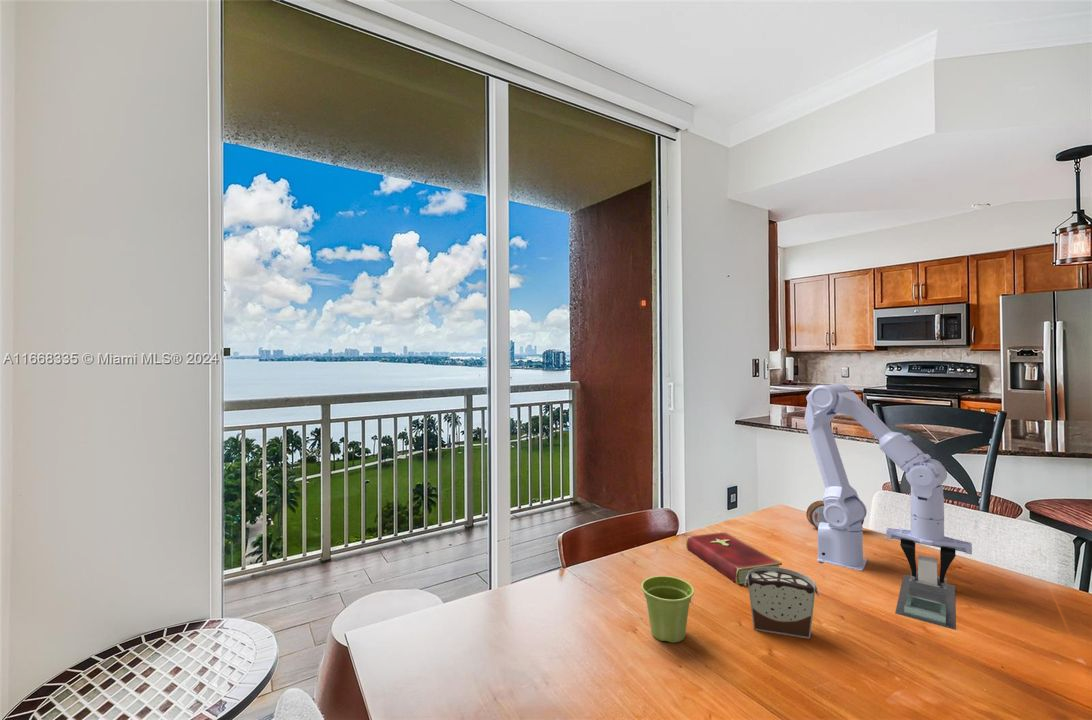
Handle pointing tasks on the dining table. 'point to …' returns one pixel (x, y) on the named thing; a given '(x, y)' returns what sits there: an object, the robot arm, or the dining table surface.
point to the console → (927, 601)
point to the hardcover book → (728, 555)
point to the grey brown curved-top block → (781, 601)
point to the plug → (927, 570)
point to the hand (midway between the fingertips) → (927, 578)
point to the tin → (817, 514)
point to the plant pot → (667, 606)
